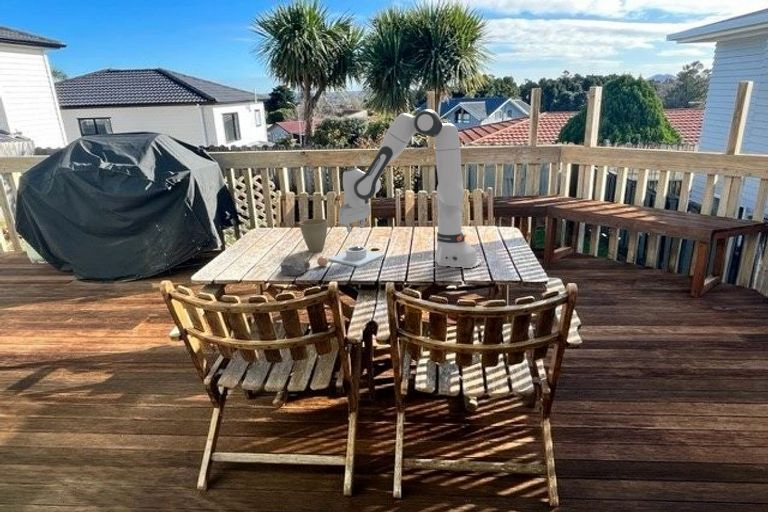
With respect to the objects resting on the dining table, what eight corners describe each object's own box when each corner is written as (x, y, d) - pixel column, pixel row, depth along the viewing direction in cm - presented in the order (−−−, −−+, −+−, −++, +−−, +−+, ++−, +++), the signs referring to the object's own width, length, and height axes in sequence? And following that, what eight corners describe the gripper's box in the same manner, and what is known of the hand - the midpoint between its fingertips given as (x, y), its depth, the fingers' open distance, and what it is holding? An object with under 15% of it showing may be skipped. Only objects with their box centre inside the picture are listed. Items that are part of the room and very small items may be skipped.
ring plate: (384, 256, 228) (383, 246, 227) (359, 267, 213) (358, 256, 212) (354, 250, 240) (353, 241, 238) (328, 260, 225) (327, 251, 223)
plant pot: (313, 245, 253) (311, 217, 248) (335, 248, 246) (333, 219, 241) (296, 252, 241) (293, 223, 236) (318, 255, 234) (315, 225, 229)
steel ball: (363, 257, 227) (365, 248, 227) (357, 255, 223) (359, 246, 223) (355, 256, 229) (357, 246, 230) (349, 254, 225) (351, 244, 226)
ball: (330, 265, 217) (329, 255, 215) (323, 268, 213) (322, 258, 211) (322, 263, 220) (322, 254, 218) (315, 266, 216) (314, 256, 214)
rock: (301, 278, 202) (313, 268, 216) (300, 264, 200) (312, 255, 214) (275, 276, 204) (288, 266, 218) (274, 262, 202) (288, 254, 217)
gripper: (344, 206, 208) (346, 235, 212) (371, 199, 224) (373, 226, 228) (334, 205, 212) (337, 234, 216) (361, 198, 227) (363, 225, 231)
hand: (355, 229), depth 222 cm, fingers open, 8 cm apart
